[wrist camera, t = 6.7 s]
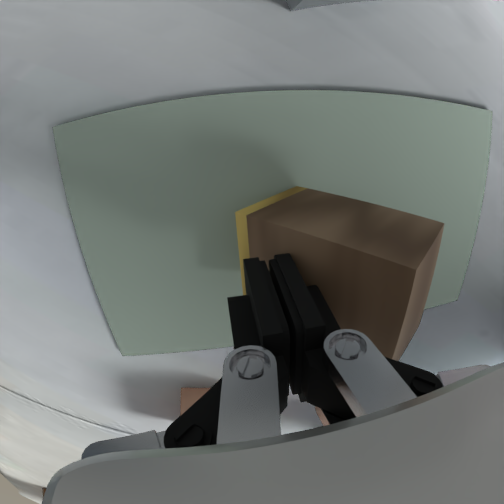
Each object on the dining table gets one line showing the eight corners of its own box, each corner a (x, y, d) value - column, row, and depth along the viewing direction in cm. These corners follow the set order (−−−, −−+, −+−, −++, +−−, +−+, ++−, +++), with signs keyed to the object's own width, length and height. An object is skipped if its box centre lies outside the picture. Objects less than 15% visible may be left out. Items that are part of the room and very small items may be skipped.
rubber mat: (488, 110, 14) (492, 111, 14) (454, 297, 21) (457, 300, 20) (56, 125, 12) (52, 126, 12) (123, 351, 19) (122, 356, 18)
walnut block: (296, 185, 15) (444, 223, 10) (297, 276, 17) (418, 325, 13) (234, 212, 12) (416, 269, 8) (245, 314, 15) (382, 385, 10)
